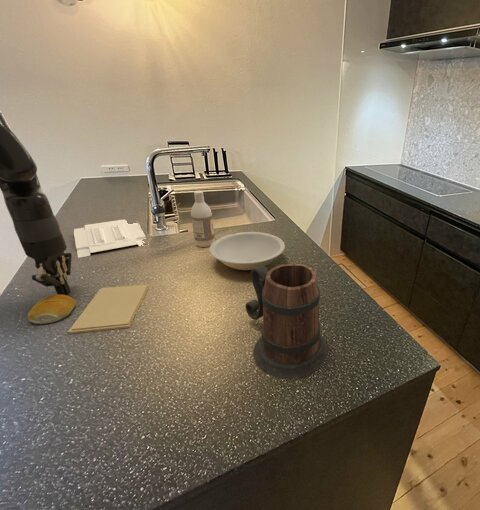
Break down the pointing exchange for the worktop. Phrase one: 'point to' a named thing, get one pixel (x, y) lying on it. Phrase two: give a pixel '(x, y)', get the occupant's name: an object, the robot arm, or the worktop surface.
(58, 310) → the bread roll
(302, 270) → the tankard
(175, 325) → the worktop surface
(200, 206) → the bath foam
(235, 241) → the soup bowl
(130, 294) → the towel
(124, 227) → the tray
